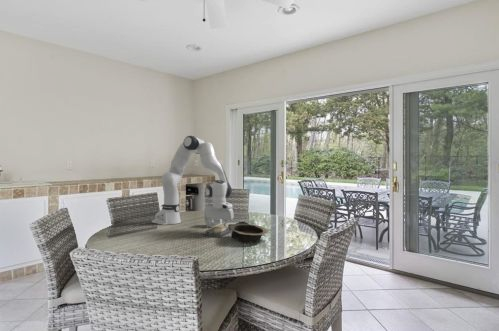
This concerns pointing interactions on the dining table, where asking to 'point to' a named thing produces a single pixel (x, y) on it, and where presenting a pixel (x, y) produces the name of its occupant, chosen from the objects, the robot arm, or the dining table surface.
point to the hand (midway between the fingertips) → (219, 225)
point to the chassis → (218, 234)
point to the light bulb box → (217, 221)
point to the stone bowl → (247, 232)
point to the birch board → (219, 226)
